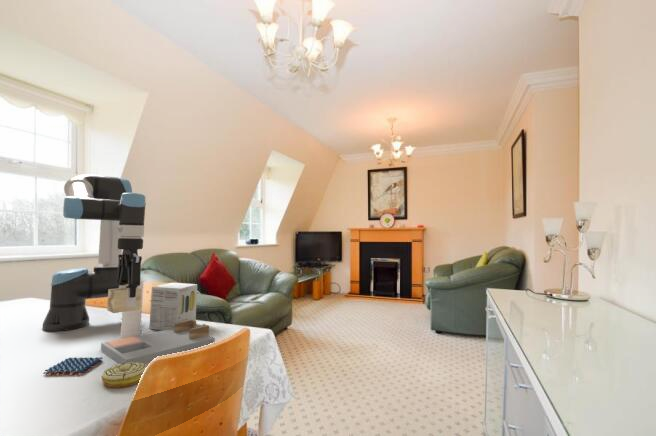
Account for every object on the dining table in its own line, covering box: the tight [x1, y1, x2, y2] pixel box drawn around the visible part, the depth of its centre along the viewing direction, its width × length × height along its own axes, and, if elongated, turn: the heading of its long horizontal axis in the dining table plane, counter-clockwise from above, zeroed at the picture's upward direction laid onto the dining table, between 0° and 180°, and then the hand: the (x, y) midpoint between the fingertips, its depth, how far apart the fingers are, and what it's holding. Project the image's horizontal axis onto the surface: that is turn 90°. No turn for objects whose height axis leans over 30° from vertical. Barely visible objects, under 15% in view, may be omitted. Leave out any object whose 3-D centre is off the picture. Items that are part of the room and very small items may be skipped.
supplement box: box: [148, 282, 198, 331], centre depth 140 cm, size 13×13×18 cm
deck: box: [100, 328, 216, 364], centre depth 114 cm, size 22×29×3 cm
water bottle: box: [120, 270, 152, 339], centre depth 125 cm, size 9×6×25 cm
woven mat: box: [43, 356, 104, 377], centre depth 95 cm, size 10×11×2 cm
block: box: [106, 288, 141, 314], centre depth 111 cm, size 6×8×7 cm
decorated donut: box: [101, 362, 148, 389], centre depth 89 cm, size 10×11×4 cm
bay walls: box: [174, 320, 210, 340], centre depth 122 cm, size 12×7×4 cm, turn 51°
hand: (126, 305), depth 112 cm, fingers closed on block, 6 cm apart
